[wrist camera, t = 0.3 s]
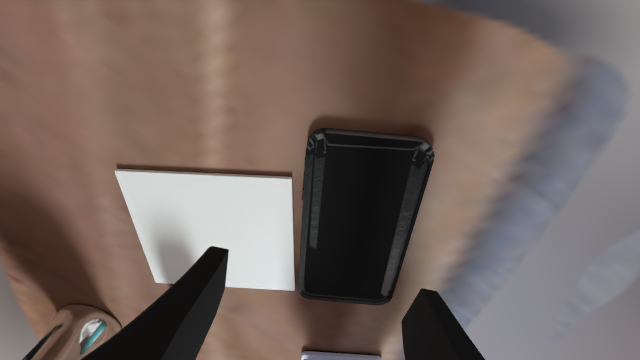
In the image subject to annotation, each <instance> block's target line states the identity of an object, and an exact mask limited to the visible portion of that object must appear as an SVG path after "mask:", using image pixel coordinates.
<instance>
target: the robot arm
mask: <svg viewBox="0 0 640 360" xmlns="http://www.w3.org/2000/svg"><path fill="white" fill-rule="evenodd" d="M228 253H229V249H225V248H220V247H215V246H211V247H209V248H208V249H207V250H206V251H205V252H204V254H203V255H202V256H201V257H200V258H199V259H198V260H197V261H196V262H195V263H194V264H193V265H192V267H191V268H190V269H189V270H188V271H187V272H186V273H185V274H184V275H183V276H182V277H181V278H180V279H179V280H178V281H176V282H175V283H174V284H173V285H172V286H171V287H170V288H169V289H168V290H167V291H166V292H165V293H164V294H163V295H162V296H161V297H159V298H158V299H157V300H156V301H155V302H154V303H153V304H151V305H150V306H149V307H148V308H147V309H146V310H145V311H143V312H142V313H141V314H140V315H139V316H138V317H136V318H135V319H134V320H133V321H131V322H130V323H129V324H128V325H126V326H125V327H124V328H123V329H121V330H120V331H119V332H117V333H116V334H115V335H114V336H112V337H111V338H110V339H108V340H107V341H106V342H104V343H103V344H102V345H100V346H99V347H97V348H96V349H95V350H93V351H92V352H90V353H89V354H88V355H86V356H85V357H83V358H82V359H81V360H195V359H196V357H197V355H198V353H199V351H200V348H201V346H202V344H203V342H204V340H205V337H206V335H207V333H208V331H209V329H210V327H211V324H212V322H213V320H214V318H215V315H216V313H217V310H218V307H219V304H220V301H221V298H222V295H223V292H224V289H225V283H226V273H227V263H228ZM402 336H403V347H404V354H405V360H485V359H484V358H483V356H482V355H481V353H480V352H479V351H478V349H477V348H476V347H475V345H474V344H473V342H472V341H471V340H470V338H469V337H468V336H467V334H466V333H465V331H464V330H463V328H462V327H461V325H460V324H459V322H458V321H457V320H456V318H455V317H454V315H453V314H452V312H451V311H450V309H449V308H448V306H447V305H446V304H445V302H444V301H443V299H442V298H441V296H440V295H439V294H438V292H437V291H432V290H427V289H422V288H421V290H420V291H419V293H418V295H417V296H416V298H415V300H414V301H413V303H412V305H411V306H410V308H409V310H408V311H407V313H406V315H405V317H404V318H403V320H402ZM301 360H381V357H380V356H374V355H359V354H343V353H328V352H312V351H304V352H302V354H301Z"/></svg>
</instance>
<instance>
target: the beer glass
mask: <svg viewBox="0 0 640 360" xmlns="http://www.w3.org/2000/svg"><path fill="white" fill-rule="evenodd" d="M120 330H121V326H120V324H119V323H118V321H117V320H116V319H115V318H114V317H112V316H111V315H110V314H108V313H106V312H104V311H103V310H100V309H98V308H95V307H92V306H88V305H81V304H73V305H68V306H65V307H63V308H62V309H60V310H59V312H58V313H57V314H56V316H55V317H54V319H53V320H52V322H51V324H50V325H49V327H48V328H47V330H46V331H45V333H44V334H43V336H42V337H41V339H40V340H39V341H38V342H37V343H36V345H35V346H34V347H33V348H32V349H31V350H30V351H29V352H28V353H27V354H26V355H25V357H24V358H22V359H21V360H81V359H82V358H83V357H85V356H86V355H88V354H89V353H90V352H92V351H93V350H95V349H96V348H97V347H99V346H100V345H102V344H103V343H104V342H106V341H107V340H108V339H110V338H111V337H112V336H114V335H115V334H116V333H117V332H119V331H120Z"/></svg>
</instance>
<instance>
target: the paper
mask: <svg viewBox="0 0 640 360" xmlns="http://www.w3.org/2000/svg"><path fill="white" fill-rule="evenodd" d="M115 174H116V177H117V179H118V182H119V185H120V188H121V190H122V193H123V196H124V198H125V201H126V204H127V206H128V209H129V212H130V215H131V217H132V220H133V223H134V225H135V228H136V231H137V233H138V236H139V239H140V242H141V244H142V247H143V250H144V252H145V255H146V258H147V260H148V263H149V266H150V269H151V271H152V274H153V277H154V279H155V282H156V283H170V284H174V283H175V282H176V281H178V280H179V279H180V278H181V277H182V276H183V275H184V274H185V273H186V272H187V271H188V270H189V269H190V268H191V267H192V265H193V264H194V263H195V262H196V261H197V260H198V259H199V258H200V257H201V256H202V255H203V254H204V252H205V251H206V250H207V249H208V248H209V247H211V246H215V247H220V248H225V249H229V253H228V263H227V273H226V283H225V287H239V288H256V289H273V290H291V291H295V263H294V226H293V189H292V177H284V176H263V175H241V174H220V173H198V172H176V171H155V170H133V169H116V170H115Z"/></svg>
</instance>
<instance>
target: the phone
mask: <svg viewBox="0 0 640 360" xmlns="http://www.w3.org/2000/svg"><path fill="white" fill-rule="evenodd" d="M433 162H434V152H433V149H432V148H431V146H430V144H429V143H428V142H427V141H426V140H425V139H423V138H421V137H417V136H407V135H396V134H385V133H374V132H363V131H353V130H342V129H331V128H322V129H319V130H316V131H315V132H314V133H313V134H312V135H311V136H310V138H309V140H308V144H307V149H306V157H305V172H304V181H303V186H304V188H303V193H302V200H303V215H302V232H301V248H300V265H299V281H298V292H299V293H300V295H302V296H303V297H305V298H307V299H313V300H324V301H336V302H347V303H358V304H369V305H383V304H386V303H388V302H389V301H390V300H391V298H392V296H393V293H394V289H395V286H396V283H397V280H398V276H399V273H400V270H401V267H402V263H403V260H404V257H405V253H406V250H407V247H408V244H409V240H410V237H411V234H412V230H413V227H414V224H415V221H416V217H417V214H418V211H419V207H420V204H421V201H422V198H423V194H424V191H425V188H426V184H427V181H428V178H429V175H430V171H431V168H432V165H433Z"/></svg>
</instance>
